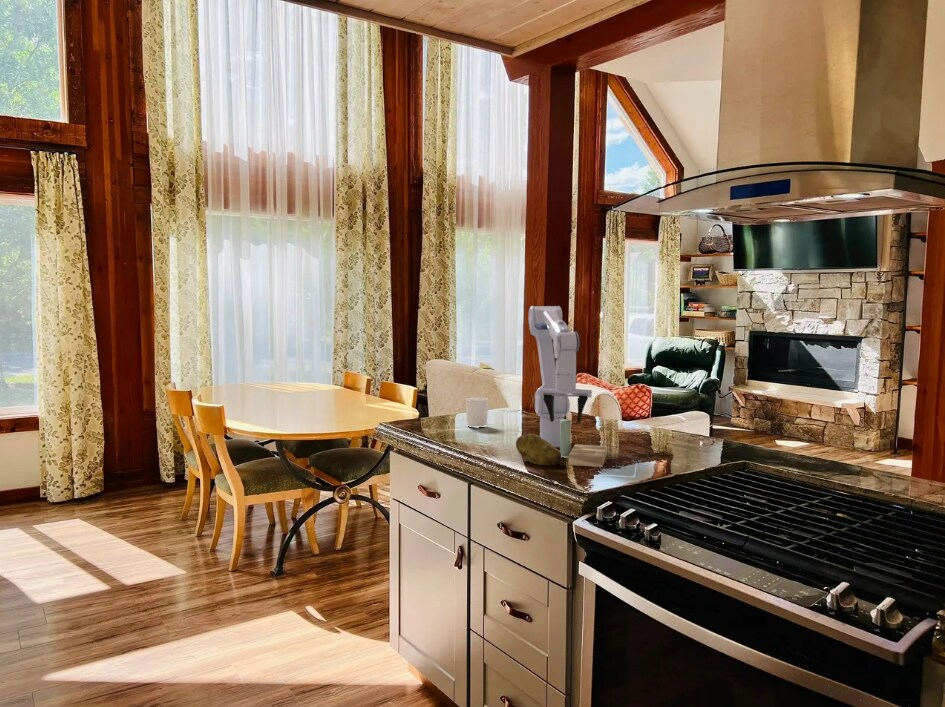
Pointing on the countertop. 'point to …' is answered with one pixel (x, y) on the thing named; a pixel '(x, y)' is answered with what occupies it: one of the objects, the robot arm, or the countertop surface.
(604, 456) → the socket block
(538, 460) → the potato
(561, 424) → the peg
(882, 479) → the countertop surface
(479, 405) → the white cup
